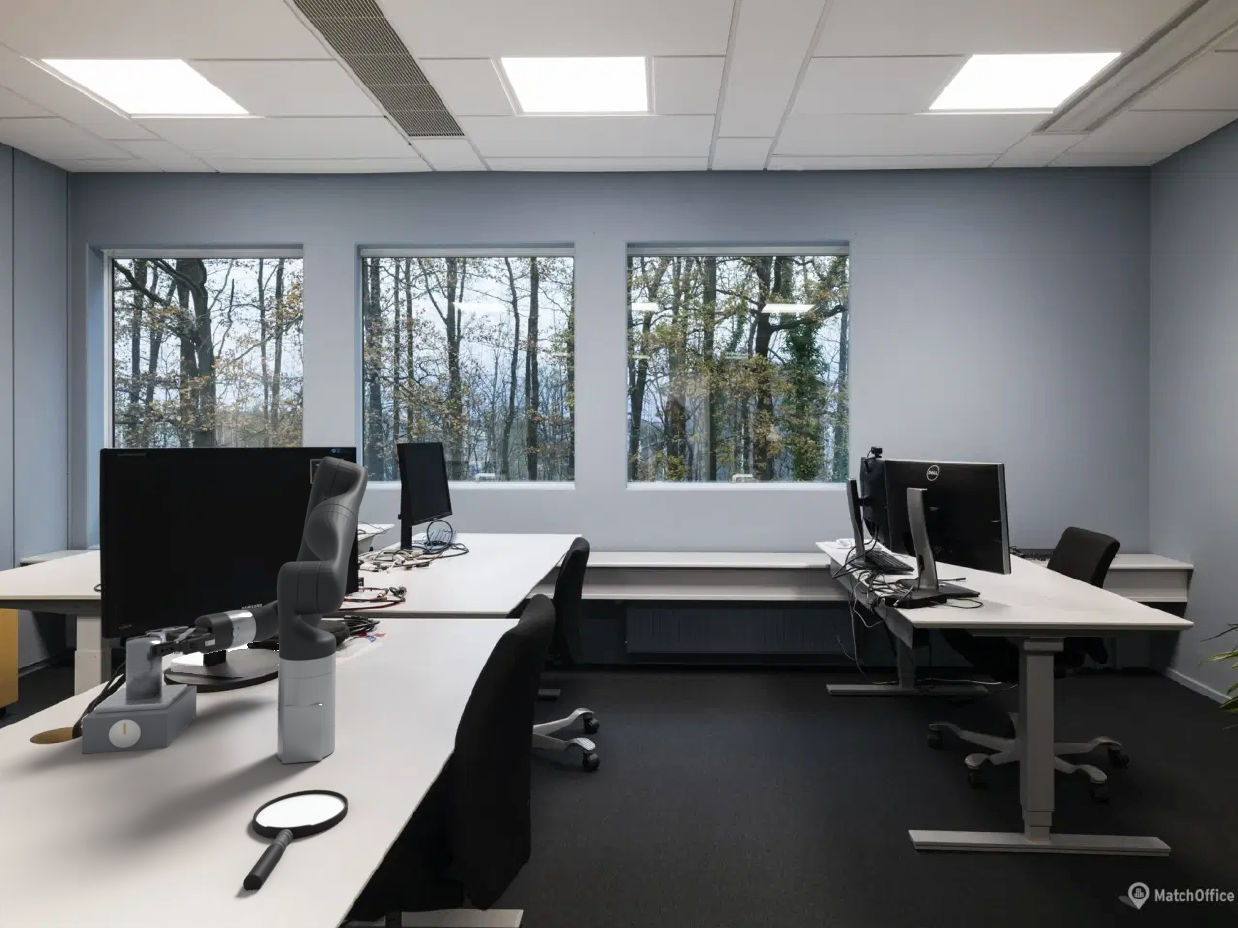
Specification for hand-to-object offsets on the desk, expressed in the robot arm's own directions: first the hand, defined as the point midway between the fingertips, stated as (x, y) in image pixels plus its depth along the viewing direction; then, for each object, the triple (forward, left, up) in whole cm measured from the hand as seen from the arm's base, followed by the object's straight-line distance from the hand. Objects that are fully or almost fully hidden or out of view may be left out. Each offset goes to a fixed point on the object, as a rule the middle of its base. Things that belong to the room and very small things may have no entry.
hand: (138, 648), depth 132 cm
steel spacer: (+1, -1, -9) cm, 9 cm away
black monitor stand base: (+47, -5, -17) cm, 50 cm away
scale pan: (+1, -1, -10) cm, 10 cm away
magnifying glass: (-44, -33, -17) cm, 58 cm away
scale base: (+1, -1, -16) cm, 16 cm away
